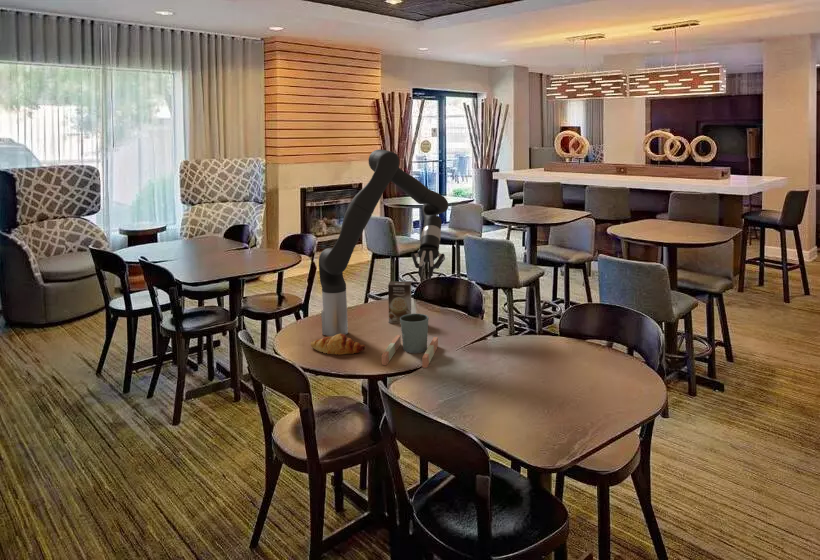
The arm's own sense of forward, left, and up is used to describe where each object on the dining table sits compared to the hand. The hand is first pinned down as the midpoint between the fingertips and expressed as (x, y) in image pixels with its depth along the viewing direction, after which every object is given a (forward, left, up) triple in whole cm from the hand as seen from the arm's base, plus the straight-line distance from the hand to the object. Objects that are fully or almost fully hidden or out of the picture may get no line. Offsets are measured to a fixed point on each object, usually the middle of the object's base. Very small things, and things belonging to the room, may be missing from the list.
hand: (425, 276), depth 257 cm
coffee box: (-13, +12, -22) cm, 28 cm away
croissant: (-27, -27, -22) cm, 44 cm away
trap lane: (0, -28, -22) cm, 36 cm away
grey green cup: (0, -21, -22) cm, 31 cm away
